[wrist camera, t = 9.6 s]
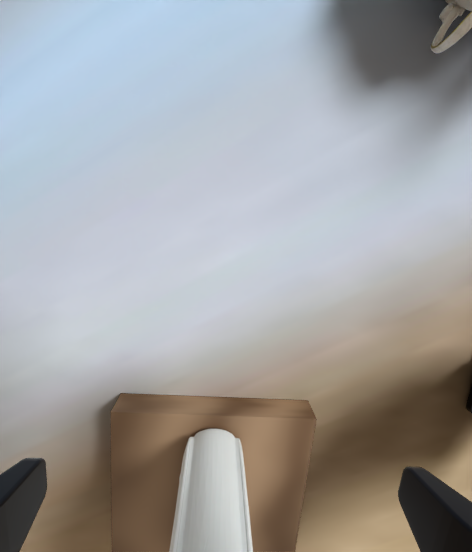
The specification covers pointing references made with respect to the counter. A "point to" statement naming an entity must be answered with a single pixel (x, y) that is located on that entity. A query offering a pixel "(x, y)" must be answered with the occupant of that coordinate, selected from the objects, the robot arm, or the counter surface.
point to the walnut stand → (169, 454)
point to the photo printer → (212, 496)
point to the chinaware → (456, 6)
